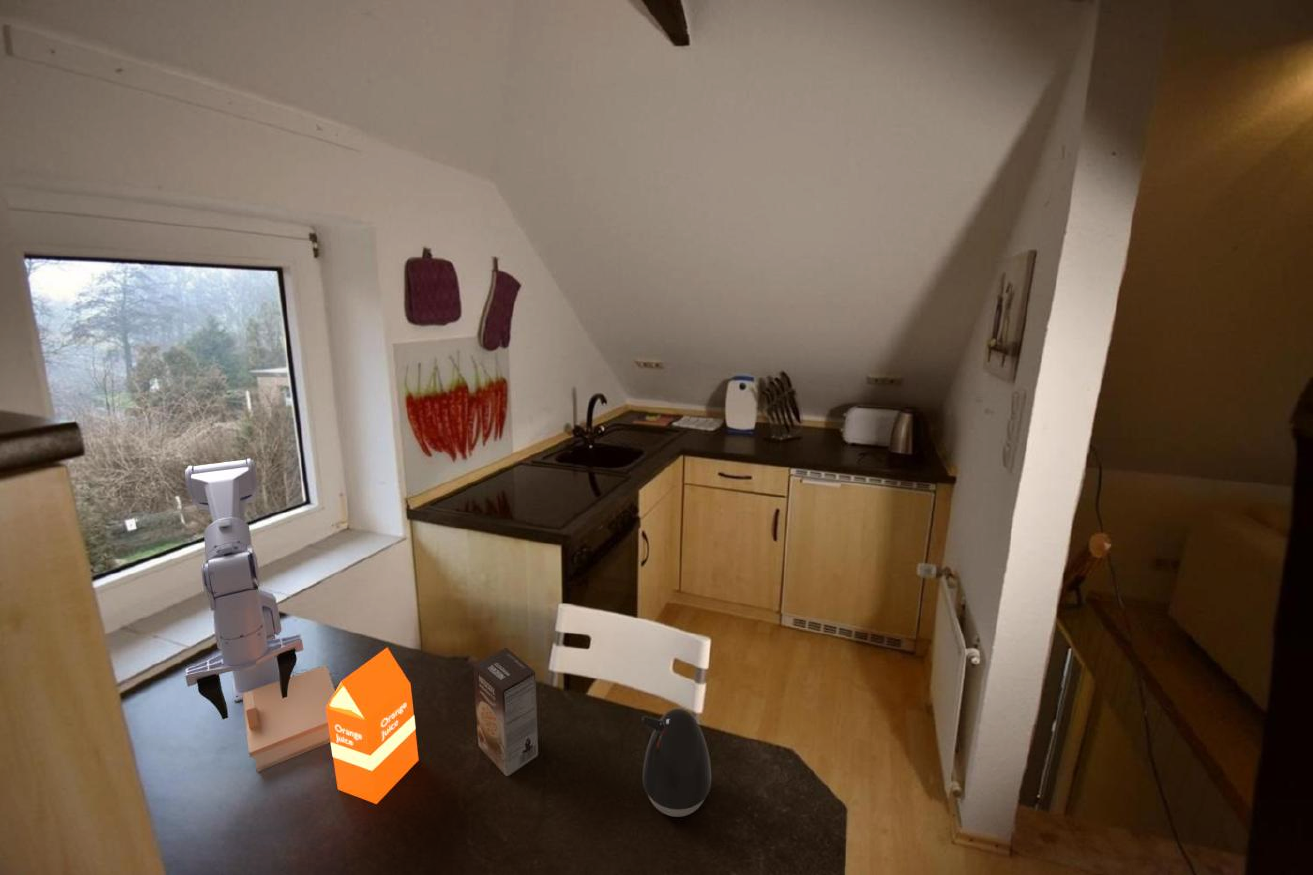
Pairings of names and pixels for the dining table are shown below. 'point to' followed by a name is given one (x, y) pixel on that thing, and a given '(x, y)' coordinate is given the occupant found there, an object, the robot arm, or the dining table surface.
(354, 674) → the orange juice
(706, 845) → the dining table surface
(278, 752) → the parts tray
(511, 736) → the coffee box
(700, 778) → the pump dispenser
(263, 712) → the lid
